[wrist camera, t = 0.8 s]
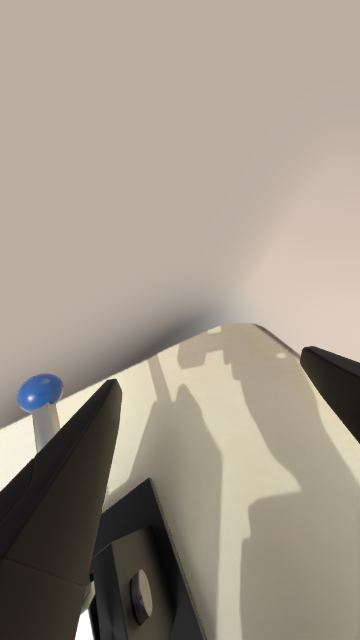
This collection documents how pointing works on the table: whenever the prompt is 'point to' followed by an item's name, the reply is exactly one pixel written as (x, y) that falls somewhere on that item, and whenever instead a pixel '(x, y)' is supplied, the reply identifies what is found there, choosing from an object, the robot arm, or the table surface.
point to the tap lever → (41, 402)
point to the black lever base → (141, 574)
